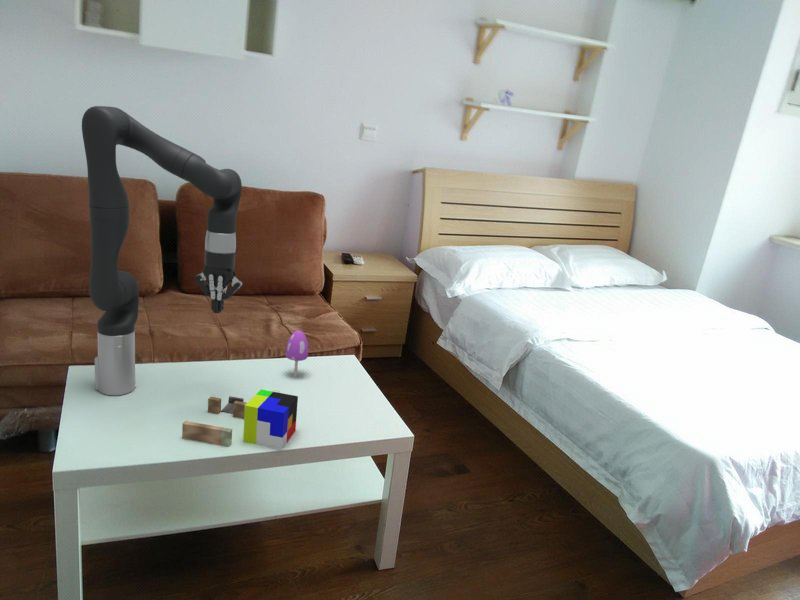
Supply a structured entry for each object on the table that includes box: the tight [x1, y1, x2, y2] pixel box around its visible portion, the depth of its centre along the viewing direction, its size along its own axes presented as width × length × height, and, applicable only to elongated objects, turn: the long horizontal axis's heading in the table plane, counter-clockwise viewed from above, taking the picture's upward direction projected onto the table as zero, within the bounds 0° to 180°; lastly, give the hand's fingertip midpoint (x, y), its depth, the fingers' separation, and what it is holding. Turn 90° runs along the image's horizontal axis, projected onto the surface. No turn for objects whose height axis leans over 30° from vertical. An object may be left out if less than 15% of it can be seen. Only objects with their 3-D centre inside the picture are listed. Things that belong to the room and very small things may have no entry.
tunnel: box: [181, 396, 248, 447], centre depth 161 cm, size 12×22×4 cm, turn 172°
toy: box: [285, 330, 309, 378], centre depth 193 cm, size 7×7×15 cm
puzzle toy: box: [242, 389, 299, 450], centre depth 157 cm, size 10×10×10 cm
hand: (217, 312), depth 164 cm, fingers closed
